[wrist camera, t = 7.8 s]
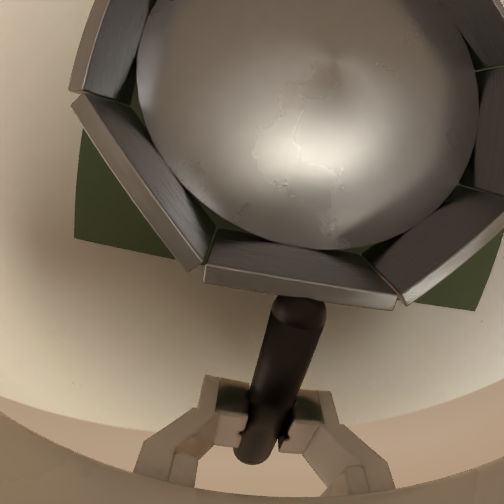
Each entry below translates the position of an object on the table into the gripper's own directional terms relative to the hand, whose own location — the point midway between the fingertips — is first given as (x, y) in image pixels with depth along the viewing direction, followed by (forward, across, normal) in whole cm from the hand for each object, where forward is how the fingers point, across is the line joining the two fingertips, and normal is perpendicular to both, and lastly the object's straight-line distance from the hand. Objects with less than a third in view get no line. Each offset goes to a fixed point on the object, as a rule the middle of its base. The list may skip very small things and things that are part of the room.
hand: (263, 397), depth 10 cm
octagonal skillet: (+3, 0, -7) cm, 8 cm away
